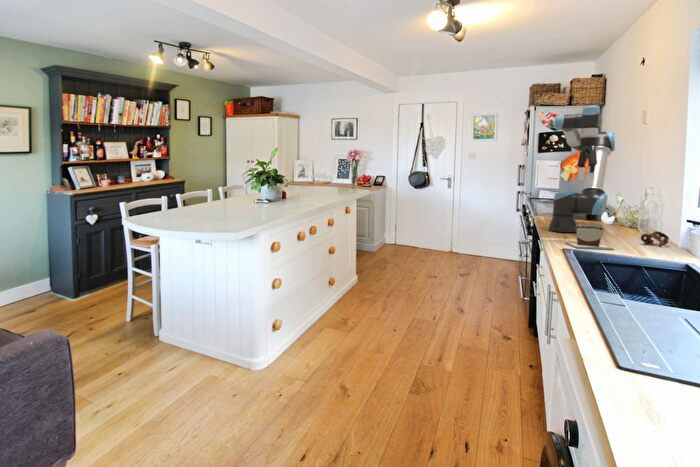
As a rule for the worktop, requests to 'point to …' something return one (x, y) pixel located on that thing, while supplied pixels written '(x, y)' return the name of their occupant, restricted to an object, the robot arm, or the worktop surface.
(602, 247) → the board
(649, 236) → the brown looped knot
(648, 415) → the worktop surface
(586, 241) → the food container
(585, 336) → the worktop surface
